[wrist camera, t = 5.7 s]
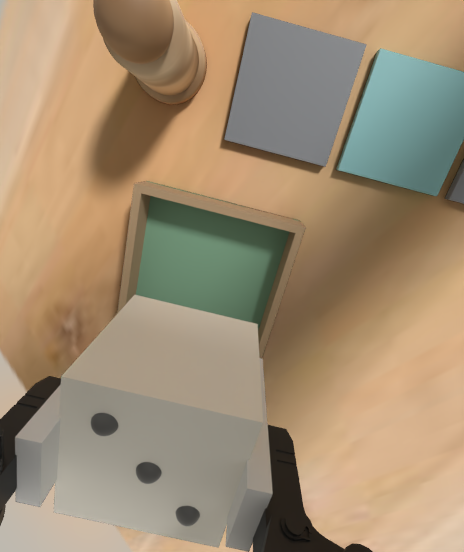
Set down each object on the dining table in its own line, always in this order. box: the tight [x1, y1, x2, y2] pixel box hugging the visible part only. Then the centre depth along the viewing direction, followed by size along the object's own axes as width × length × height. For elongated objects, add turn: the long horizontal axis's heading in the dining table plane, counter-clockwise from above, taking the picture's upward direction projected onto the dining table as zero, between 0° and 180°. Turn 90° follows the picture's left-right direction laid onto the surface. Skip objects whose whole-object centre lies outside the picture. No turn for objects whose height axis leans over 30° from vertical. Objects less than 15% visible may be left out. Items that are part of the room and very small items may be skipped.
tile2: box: [336, 49, 464, 196], centre depth 22 cm, size 8×8×1 cm
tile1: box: [224, 13, 366, 167], centre depth 22 cm, size 8×8×1 cm
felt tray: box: [117, 181, 306, 359], centre depth 26 cm, size 13×13×3 cm
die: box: [54, 295, 263, 548], centre depth 13 cm, size 6×6×6 cm
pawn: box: [93, 0, 207, 105], centre depth 18 cm, size 5×5×9 cm
